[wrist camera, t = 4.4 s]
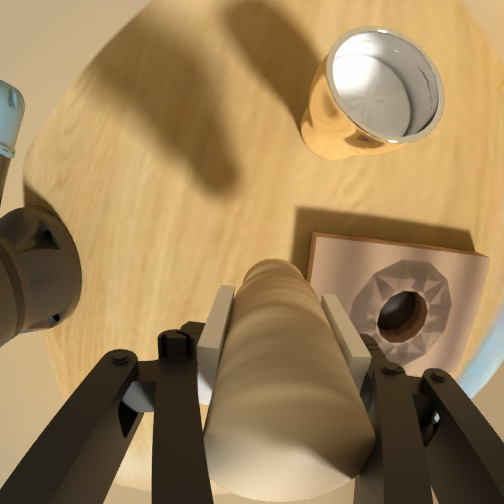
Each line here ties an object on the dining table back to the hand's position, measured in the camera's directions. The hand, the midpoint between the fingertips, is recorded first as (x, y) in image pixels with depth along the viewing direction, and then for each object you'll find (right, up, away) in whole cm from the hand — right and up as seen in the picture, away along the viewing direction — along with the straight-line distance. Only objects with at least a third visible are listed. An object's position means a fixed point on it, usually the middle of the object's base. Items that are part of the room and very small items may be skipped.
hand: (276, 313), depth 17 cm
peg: (0, +1, +4) cm, 4 cm away
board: (+14, -2, +13) cm, 19 cm away
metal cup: (+6, +15, +10) cm, 19 cm away
